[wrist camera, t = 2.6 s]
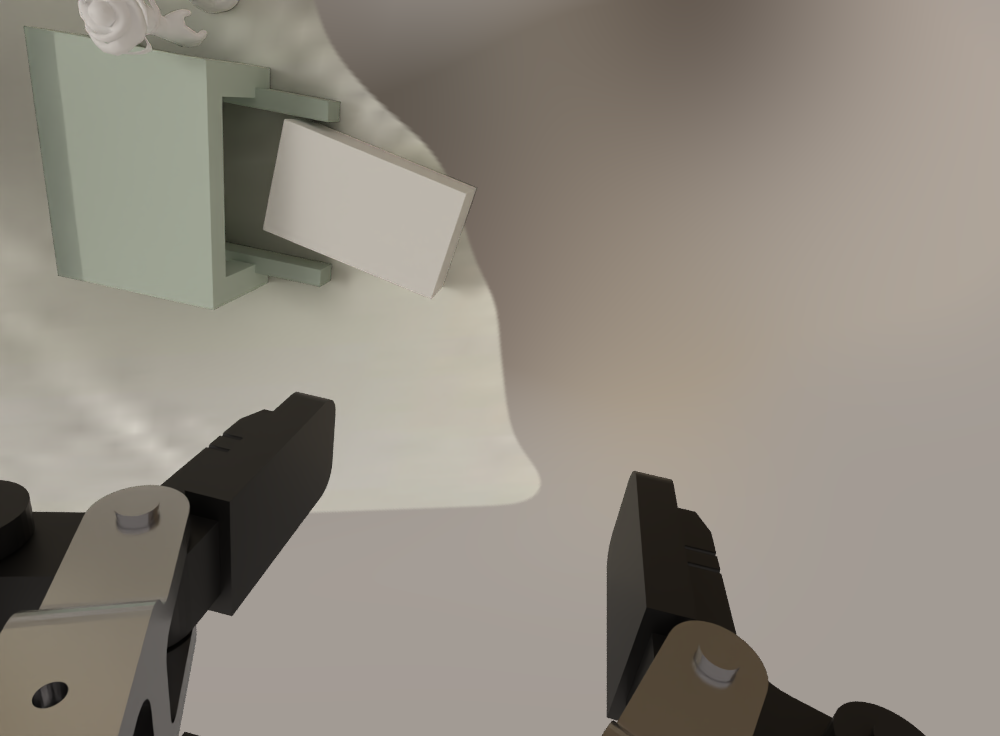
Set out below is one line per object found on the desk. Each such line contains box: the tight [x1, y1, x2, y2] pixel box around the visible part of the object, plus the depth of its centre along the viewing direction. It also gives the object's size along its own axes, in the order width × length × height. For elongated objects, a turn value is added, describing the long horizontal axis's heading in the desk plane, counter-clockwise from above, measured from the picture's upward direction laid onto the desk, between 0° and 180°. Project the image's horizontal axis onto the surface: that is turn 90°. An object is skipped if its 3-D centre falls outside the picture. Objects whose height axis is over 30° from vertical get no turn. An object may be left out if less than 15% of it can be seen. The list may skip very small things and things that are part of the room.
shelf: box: [24, 26, 340, 310], centre depth 32 cm, size 12×13×6 cm
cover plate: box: [263, 119, 477, 299], centre depth 33 cm, size 6×10×3 cm, turn 70°
